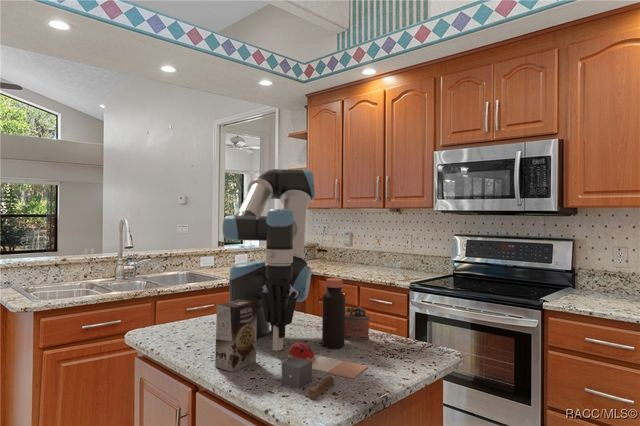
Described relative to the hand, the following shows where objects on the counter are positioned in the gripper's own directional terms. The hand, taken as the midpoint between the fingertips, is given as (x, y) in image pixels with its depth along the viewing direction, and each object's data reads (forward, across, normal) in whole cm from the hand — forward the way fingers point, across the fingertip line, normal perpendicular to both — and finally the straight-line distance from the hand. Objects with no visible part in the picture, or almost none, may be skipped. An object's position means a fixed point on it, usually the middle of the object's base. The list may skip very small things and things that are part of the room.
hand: (277, 348), depth 116 cm
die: (0, +18, -14) cm, 22 cm away
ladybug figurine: (+2, +8, 0) cm, 8 cm away
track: (+2, +15, 0) cm, 15 cm away
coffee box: (+2, -5, -12) cm, 13 cm away
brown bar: (+2, +22, -14) cm, 26 cm away
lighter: (+2, +12, +26) cm, 29 cm away
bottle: (+2, +9, +16) cm, 18 cm away
